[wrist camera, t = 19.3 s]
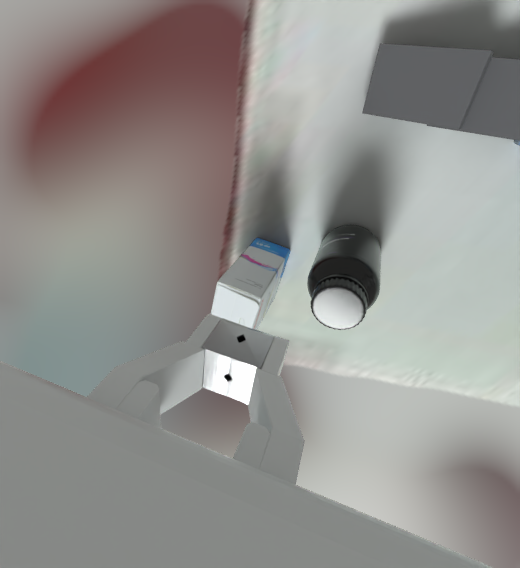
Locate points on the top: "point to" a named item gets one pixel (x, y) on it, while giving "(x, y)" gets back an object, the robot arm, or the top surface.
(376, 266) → the supplement bottle
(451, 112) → the domino
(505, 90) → the domino
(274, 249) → the ink box
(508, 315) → the top surface
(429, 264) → the top surface
